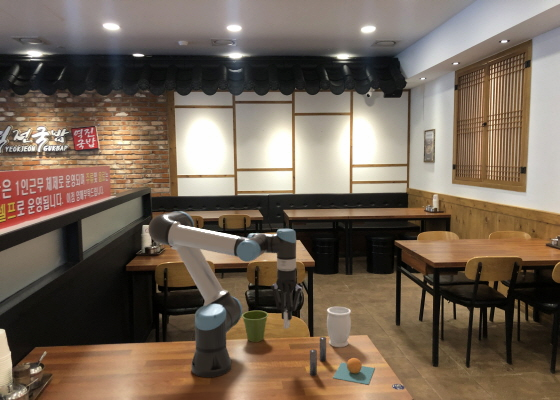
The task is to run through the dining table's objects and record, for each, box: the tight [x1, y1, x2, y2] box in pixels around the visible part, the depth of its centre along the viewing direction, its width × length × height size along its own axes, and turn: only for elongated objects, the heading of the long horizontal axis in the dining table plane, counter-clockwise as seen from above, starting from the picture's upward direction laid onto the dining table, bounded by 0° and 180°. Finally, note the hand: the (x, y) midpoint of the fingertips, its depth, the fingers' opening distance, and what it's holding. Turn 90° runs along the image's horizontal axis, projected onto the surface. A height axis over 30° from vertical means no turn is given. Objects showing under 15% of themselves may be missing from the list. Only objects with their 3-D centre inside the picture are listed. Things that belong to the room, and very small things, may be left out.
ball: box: [346, 357, 363, 374], centre depth 159 cm, size 6×6×6 cm
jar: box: [326, 306, 352, 348], centre depth 185 cm, size 11×10×15 cm
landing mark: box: [332, 362, 375, 386], centre depth 159 cm, size 13×13×1 cm
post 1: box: [309, 349, 318, 377], centre depth 158 cm, size 3×3×9 cm
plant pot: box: [241, 310, 269, 343], centre depth 191 cm, size 12×12×11 cm
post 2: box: [319, 336, 327, 362], centre depth 170 cm, size 3×3×9 cm
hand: (286, 327), depth 168 cm, fingers closed
